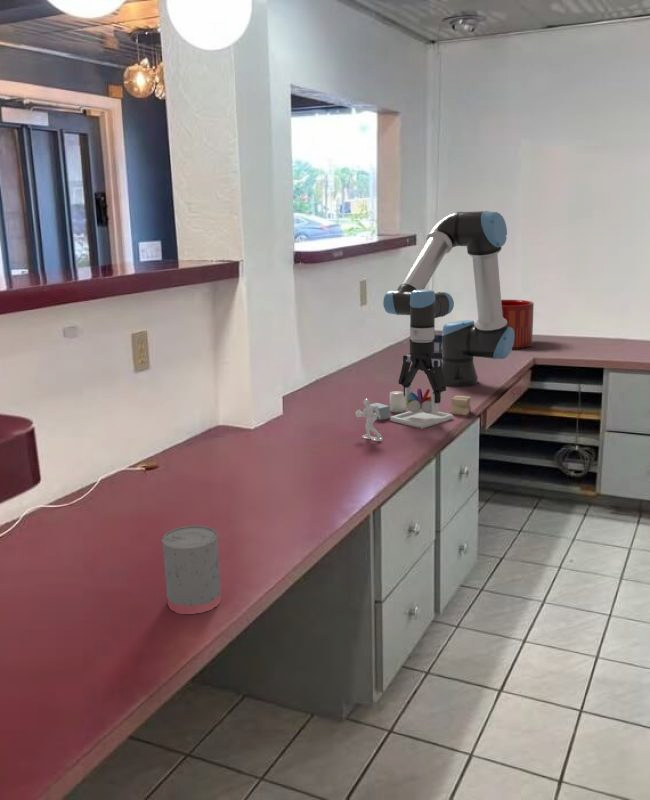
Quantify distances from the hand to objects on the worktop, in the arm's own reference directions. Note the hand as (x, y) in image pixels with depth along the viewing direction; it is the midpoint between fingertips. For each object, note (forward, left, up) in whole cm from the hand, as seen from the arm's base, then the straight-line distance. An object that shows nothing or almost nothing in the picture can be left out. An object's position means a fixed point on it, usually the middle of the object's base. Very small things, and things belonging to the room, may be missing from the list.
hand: (421, 409), depth 247 cm
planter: (-126, -55, -4) cm, 137 cm away
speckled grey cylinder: (+116, +47, -4) cm, 126 cm away
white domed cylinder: (-4, -14, -3) cm, 14 cm away
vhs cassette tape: (-81, -64, -4) cm, 103 cm away
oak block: (-16, +3, -3) cm, 16 cm away
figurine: (+25, +1, -4) cm, 26 cm away
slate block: (+6, -13, -3) cm, 14 cm away
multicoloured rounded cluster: (0, 0, -1) cm, 1 cm away
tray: (0, 0, -3) cm, 3 cm away
